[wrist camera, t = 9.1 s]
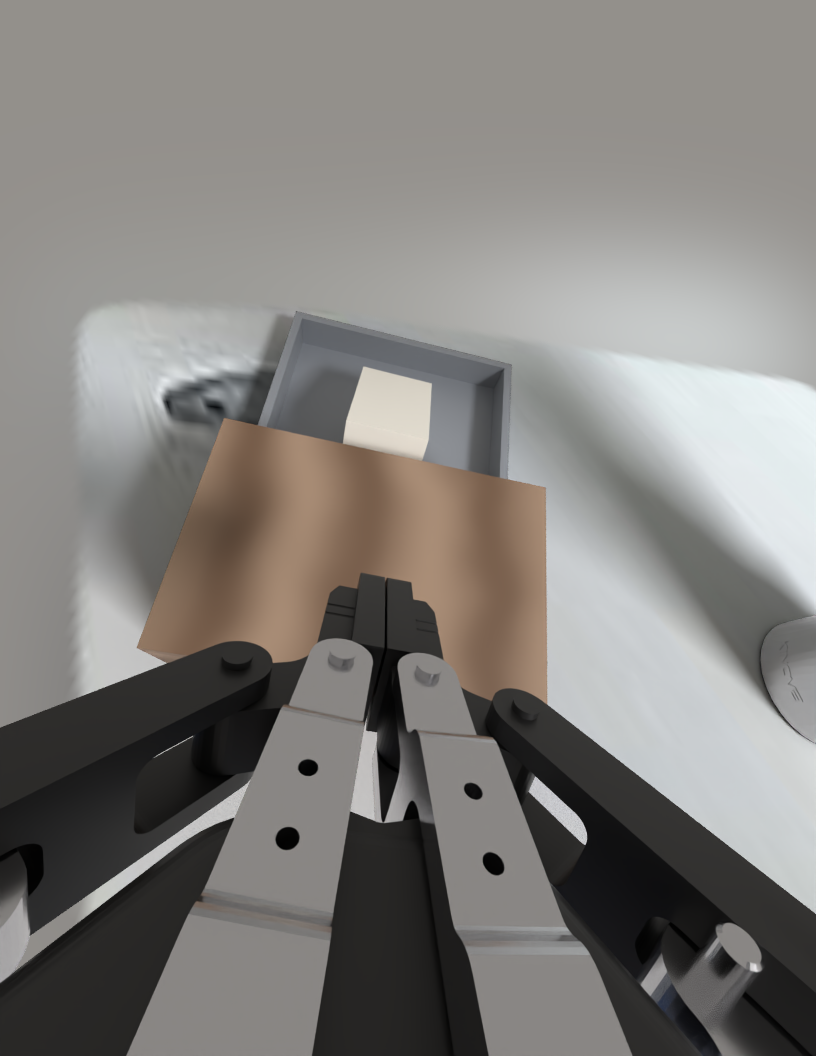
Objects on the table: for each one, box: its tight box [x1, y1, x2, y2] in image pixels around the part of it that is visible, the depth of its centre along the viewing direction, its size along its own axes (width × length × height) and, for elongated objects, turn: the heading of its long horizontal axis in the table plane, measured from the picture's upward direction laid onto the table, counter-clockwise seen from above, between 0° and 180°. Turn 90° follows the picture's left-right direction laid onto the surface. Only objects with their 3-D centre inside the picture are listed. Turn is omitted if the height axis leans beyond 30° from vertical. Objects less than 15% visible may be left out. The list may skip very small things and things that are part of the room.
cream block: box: [343, 366, 432, 461], centre depth 31 cm, size 5×5×8 cm
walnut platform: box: [137, 418, 547, 704], centre depth 26 cm, size 18×12×9 cm, turn 83°
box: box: [258, 311, 512, 479], centre depth 35 cm, size 18×15×3 cm
